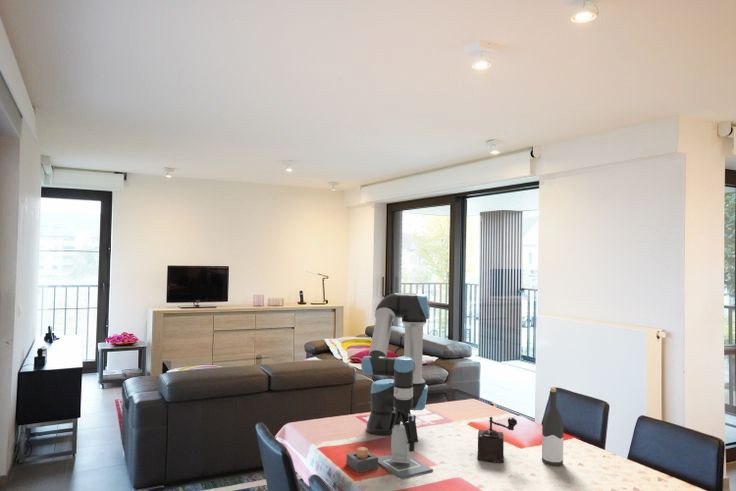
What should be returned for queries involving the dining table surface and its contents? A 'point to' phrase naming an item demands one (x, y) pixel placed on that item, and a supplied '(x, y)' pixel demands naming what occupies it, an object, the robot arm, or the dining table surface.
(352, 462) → the button housing
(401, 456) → the supplement box
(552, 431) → the wine bottle
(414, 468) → the slate board
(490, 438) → the manual coffee grinder
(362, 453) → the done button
